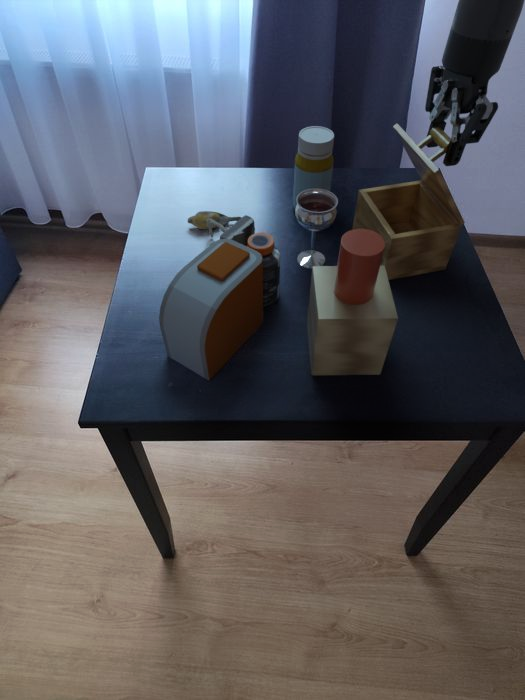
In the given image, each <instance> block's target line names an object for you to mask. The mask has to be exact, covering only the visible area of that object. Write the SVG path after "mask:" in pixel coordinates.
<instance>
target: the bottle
mask: <svg viewBox="0 0 525 700" xmlns="http://www.w3.org/2000/svg"><path fill="white" fill-rule="evenodd" d="M297 141H298V142H297V146H298V147H297V152H296V155H295V159H294V171H293V172H294V173H293V192H292V208H293V210H294V211H295V208H296V205H297V202H296V198H297V196H298V194H300V193H301V192H302V191H305V190H308V189H323V190H327V191H329V192H331V187H332V180H333V179H332V178H333V172H334V156H333V150H334V141H335V133H334V132H333V130H331V129H330V128H328V127H325V126H319V125H310V126H306V127H304V128H302V129H301V130H299V133H298V140H297Z"/></svg>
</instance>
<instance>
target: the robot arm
mask: <svg viewBox="0 0 525 700" xmlns="http://www.w3.org/2000/svg"><path fill="white" fill-rule="evenodd" d="M524 4H525V0H458V2H457V5H456V9H455V12H454V16H453V19H452V23H451V26H450V29H449V33H448V37H447V39H446V44H445V47H444V51H443V53H442V58H441V64H442V65H437V66H432V67H431V70H430V75H429V82H428V88H427V94H426V100H425V105H424V106H425V107H424V110H425V112H426V113H429V121H430V124H429V127H428V131H427V134H426V137H427V136H429V133H430V131H431V129H432V128H434V127H436V126H438V127H440V128H441V129H442V130H443V131H444V132H445V130H446V127H447V122H446V121H447V120H448V119H449V117H450V124H451V125H452V129H451V136H450V138H451V140H450V142H449V145H448V148H447V151H446V153H445V154H444V157H443V160H442V164H443V165H444V166H445V167H452V166H457V165H458V164H459V163H460V161H461V160H462V157H463V154H464V151H465V148H466V145H469V144H477V143H478V144H479V142H480V141H481V139H482V137H483V135H484V133H485V132H486V130H487V128H488V126H489V125H490V124H491V122H492V120H493V118H494V117H495V115H496V113H497V111H498V109H499V103H498V102H497V101H491V102H490V100H489V98H488V97H487V94H488V87H489V82H490V80H491V79H492V78H493V77H494V76H495V75H496V74H497V73H499V71H500V70H501V67H502V64H503V63H504V59H505V56H506V53H507V51H508V49H509V46H510V43H511V41H512V37H513V35H514V33H515V30H516V27H517V24H518V22H519V19H520V17H521V14H522V11H523V7H524ZM435 95H437V96H436V98H435ZM467 114H468V115H467ZM460 115H467V116H461V117H460ZM462 125H464V128H463V131H462V132H461V128H462ZM425 147H427V148H428V149H430V148H437V147H439V146H438V145H437V144H436V143H435V142H434V141H433V140H432V141H431V142H430V143H428V144H427V145H426V146H425Z"/></svg>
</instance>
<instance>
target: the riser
mask: <svg viewBox="0 0 525 700" xmlns="http://www.w3.org/2000/svg"><path fill="white" fill-rule="evenodd" d="M336 269H337V265H322V266H313V267H312V268H311V275H310V276H311V278H310V287H309V295H308V296H309V297H308V307H307V318H306V332H307V342H308V354H309V365H310V375H311V376H380V375H381V374H382V371H383V367H384V365H385V361H386V358H387V355H388V351H389V349H390V346H391V342H392V339H393V336H394V332H395V330H396V328H397V327H396V326H397V323H398V321H399V316H398V312H397V309H396V304H395V300H394V296H393V292H392V289H391V285H390V280H388V277H387V273H386V269H385V266H384V265H382V266H380V269H379V273H378V277H377V281H376V285H375V289H374V293H373V296H372V298H371V299H370V300H369V301H368V302H366V303H364V304H360V305H352V304H347V303H344V302H342V301H341V300H339V299H338V298H337V297H336V295H335V293H334V282H335V276H336Z"/></svg>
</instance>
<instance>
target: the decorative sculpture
mask: <svg viewBox="0 0 525 700" xmlns="http://www.w3.org/2000/svg"><path fill="white" fill-rule="evenodd" d="M230 222H235V223H233V224H232V225H231V226H230V227H228V228H226V227H225V226H227V225H228V224H229V223H230ZM187 223H188V224H191V225H192V226H194V227H196V228H197V229H199V230H208V231H209V232H208V235H209V236H210V237H211V238H213V237H214V236H213V233H214V231H213V230H212V229H216V228H219V230H220V231H221V232H222V233H221V235H220V236H219V240H220V239H231V240H233V241H236V242H238V243H240V244H242V245H244V246H247V245H248V243H247V242H248V238H249V237H250V236H251V235H253V234H255V233H256V228H255V227H256V226H255V220H254V218H253V217H251V216H249V215H243V216H242V217H241V216H228V215H225V214H223V213H221V212H217V211H211V210H210V211H209V210H203V211H198V212H196V213H195V215H192V216H189V217H188V218H187Z"/></svg>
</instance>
